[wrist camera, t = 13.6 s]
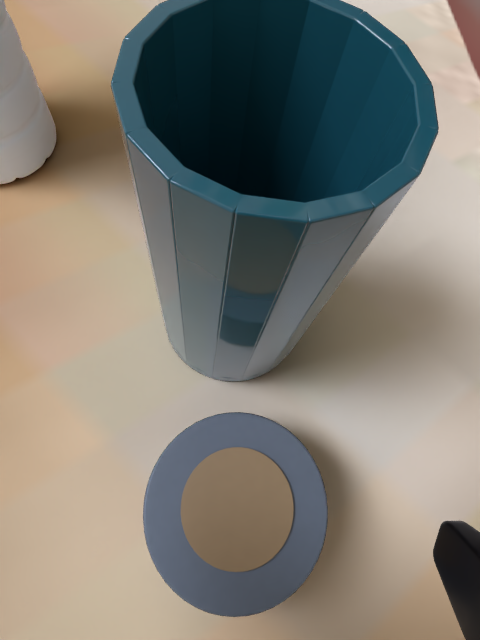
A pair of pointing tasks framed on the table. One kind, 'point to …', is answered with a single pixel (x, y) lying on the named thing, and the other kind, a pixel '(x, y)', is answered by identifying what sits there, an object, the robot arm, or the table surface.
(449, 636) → the table surface
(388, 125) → the pen pot
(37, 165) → the water bottle
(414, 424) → the table surface
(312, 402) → the table surface
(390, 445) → the table surface
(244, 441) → the tape roll
